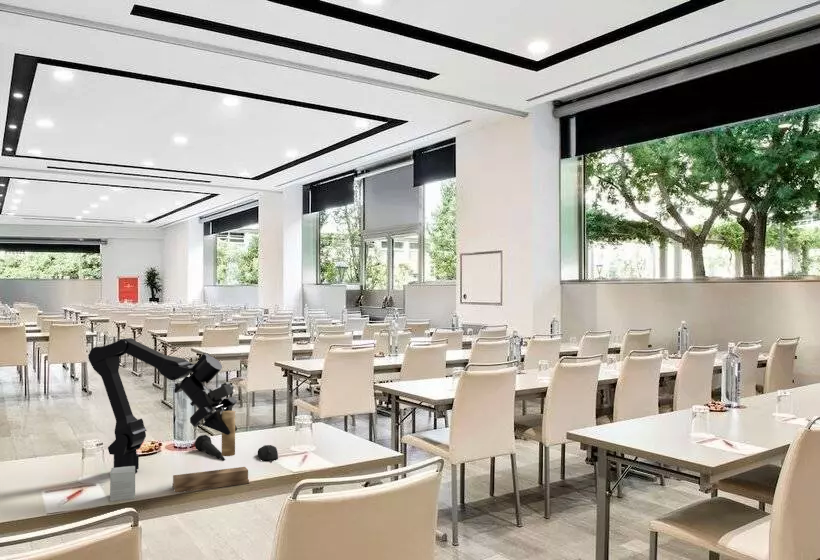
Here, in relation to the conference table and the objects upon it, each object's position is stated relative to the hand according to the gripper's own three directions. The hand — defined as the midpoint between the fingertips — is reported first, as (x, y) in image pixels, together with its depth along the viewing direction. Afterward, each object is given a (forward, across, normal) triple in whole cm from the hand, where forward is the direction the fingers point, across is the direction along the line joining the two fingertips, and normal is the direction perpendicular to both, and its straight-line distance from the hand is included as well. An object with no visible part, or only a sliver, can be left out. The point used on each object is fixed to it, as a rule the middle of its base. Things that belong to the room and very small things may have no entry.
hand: (232, 432), depth 193 cm
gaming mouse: (+10, +25, +10) cm, 28 cm away
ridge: (+7, -6, +12) cm, 15 cm away
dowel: (+4, 0, +6) cm, 7 cm away
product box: (-5, -21, +25) cm, 33 cm away
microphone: (-5, +24, +25) cm, 35 cm away
